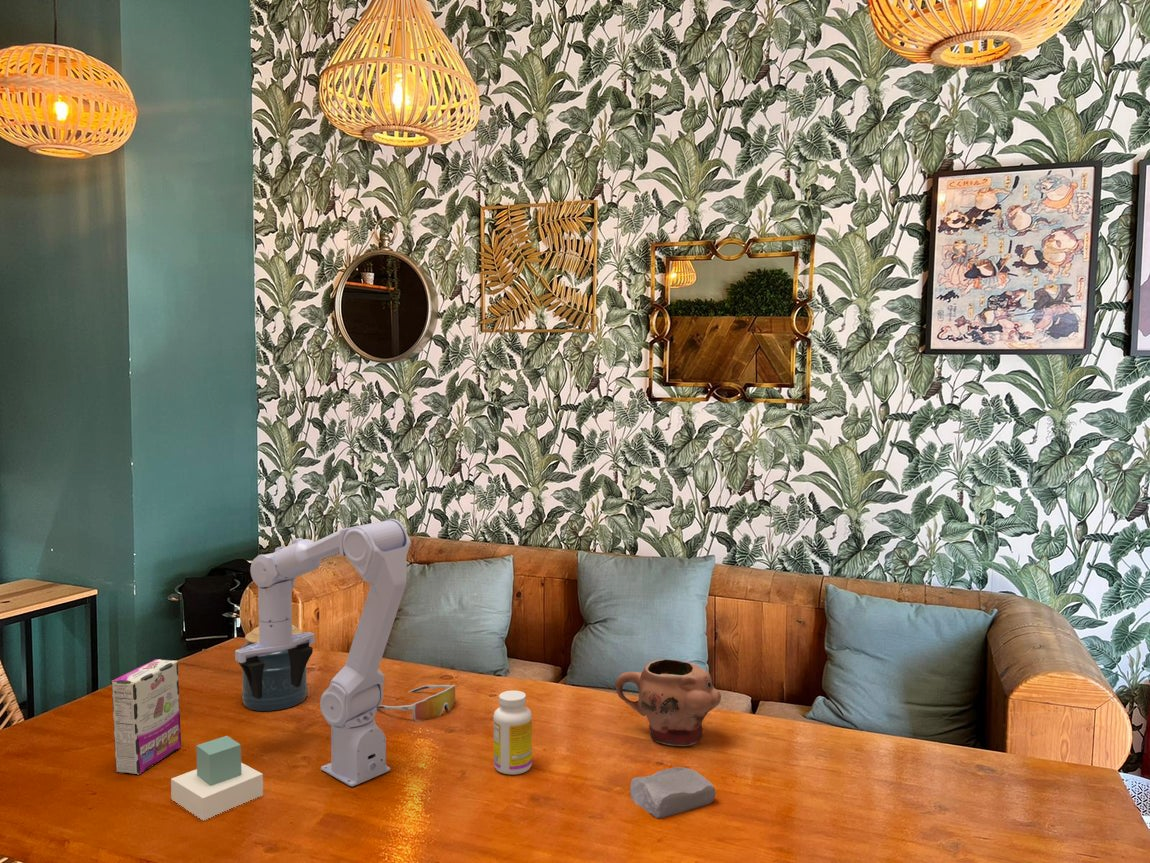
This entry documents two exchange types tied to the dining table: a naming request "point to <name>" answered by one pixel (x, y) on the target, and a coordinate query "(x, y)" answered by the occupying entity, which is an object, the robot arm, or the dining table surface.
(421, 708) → the sunglasses
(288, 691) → the canister
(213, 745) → the teal cube
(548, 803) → the dining table surface
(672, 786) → the stone block
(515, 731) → the supplement bottle
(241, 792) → the cream block
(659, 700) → the sculpted ceramic mug
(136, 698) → the candy bar box
